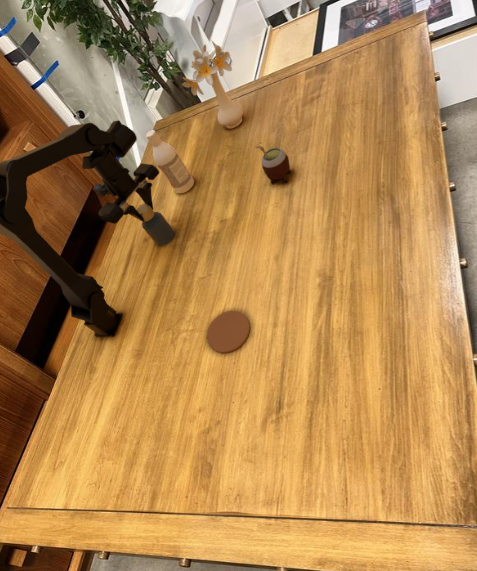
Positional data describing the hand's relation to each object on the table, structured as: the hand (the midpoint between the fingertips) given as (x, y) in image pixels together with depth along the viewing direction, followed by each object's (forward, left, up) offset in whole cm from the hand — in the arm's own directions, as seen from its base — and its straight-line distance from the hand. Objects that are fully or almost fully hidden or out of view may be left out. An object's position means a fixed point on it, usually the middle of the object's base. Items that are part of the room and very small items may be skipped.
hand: (147, 215), depth 106 cm
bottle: (0, 0, -9) cm, 9 cm away
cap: (0, 0, 0) cm, 0 cm away
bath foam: (+21, 0, -9) cm, 23 cm away
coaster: (-31, -28, -9) cm, 43 cm away
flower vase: (+49, -11, -9) cm, 51 cm away
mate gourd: (+16, -33, -9) cm, 38 cm away
